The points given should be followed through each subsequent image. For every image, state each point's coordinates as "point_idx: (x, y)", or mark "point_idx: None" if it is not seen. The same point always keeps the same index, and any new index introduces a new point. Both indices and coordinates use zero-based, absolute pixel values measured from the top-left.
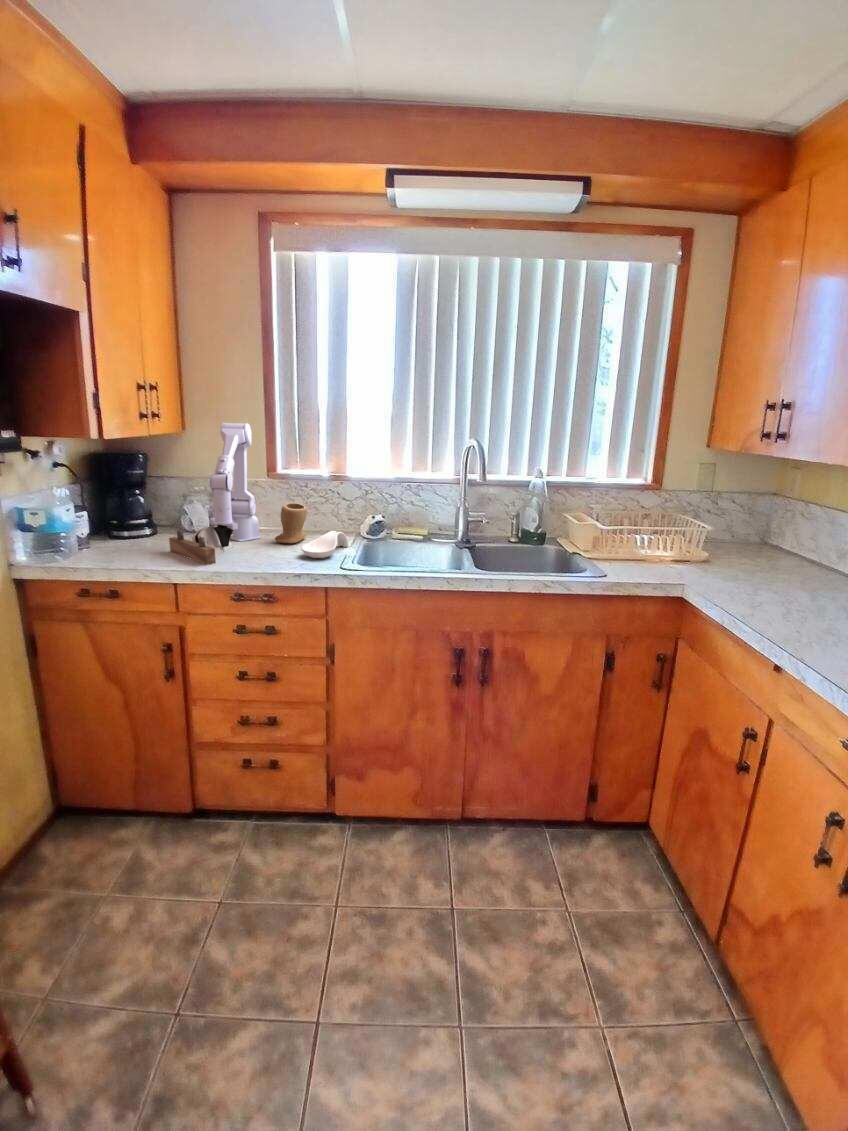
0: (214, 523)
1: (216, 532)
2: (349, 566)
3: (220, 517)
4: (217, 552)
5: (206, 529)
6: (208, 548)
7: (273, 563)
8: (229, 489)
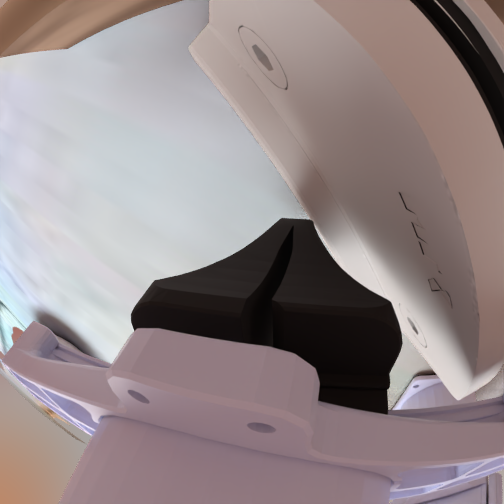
0: (125, 349)
1: (343, 280)
2: (11, 319)
3: (62, 499)
4: (255, 136)
5: (415, 141)
6: (9, 20)
7: (22, 242)
8: None
